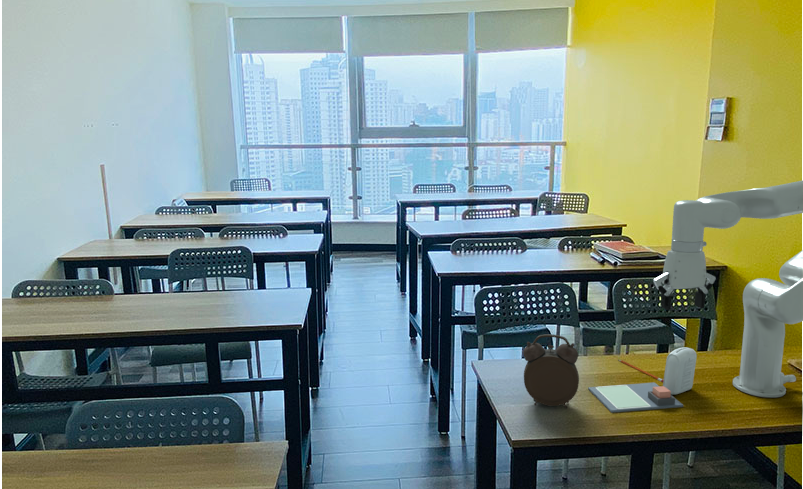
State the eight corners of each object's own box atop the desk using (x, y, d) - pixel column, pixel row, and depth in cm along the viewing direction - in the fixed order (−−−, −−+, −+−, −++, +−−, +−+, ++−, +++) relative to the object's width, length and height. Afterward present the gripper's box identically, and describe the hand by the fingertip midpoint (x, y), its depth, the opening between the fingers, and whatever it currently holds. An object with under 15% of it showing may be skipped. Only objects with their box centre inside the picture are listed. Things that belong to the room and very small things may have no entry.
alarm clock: (577, 400, 151) (579, 331, 147) (578, 413, 144) (580, 341, 140) (523, 395, 155) (524, 328, 151) (521, 407, 148) (522, 337, 144)
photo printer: (679, 383, 159) (685, 342, 157) (694, 389, 156) (700, 347, 154) (659, 390, 154) (665, 349, 151) (674, 396, 150) (680, 354, 148)
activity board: (654, 384, 159) (654, 376, 159) (683, 406, 146) (683, 398, 145) (588, 389, 157) (588, 381, 157) (611, 412, 144) (611, 404, 143)
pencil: (662, 383, 161) (663, 380, 160) (616, 360, 178) (616, 358, 178) (665, 383, 161) (665, 380, 161) (618, 360, 178) (618, 358, 178)
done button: (663, 393, 150) (664, 386, 149) (670, 399, 146) (670, 391, 146) (652, 394, 149) (652, 387, 149) (658, 399, 146) (659, 392, 146)
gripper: (707, 242, 152) (703, 302, 155) (648, 245, 150) (645, 305, 153) (726, 247, 144) (721, 310, 147) (664, 250, 143) (660, 313, 146)
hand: (682, 307), depth 150 cm, fingers open, 9 cm apart
